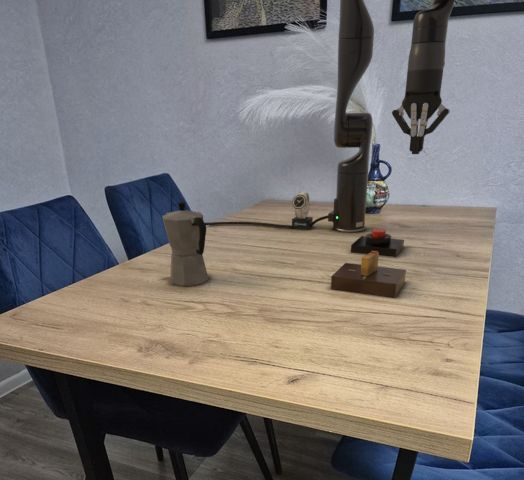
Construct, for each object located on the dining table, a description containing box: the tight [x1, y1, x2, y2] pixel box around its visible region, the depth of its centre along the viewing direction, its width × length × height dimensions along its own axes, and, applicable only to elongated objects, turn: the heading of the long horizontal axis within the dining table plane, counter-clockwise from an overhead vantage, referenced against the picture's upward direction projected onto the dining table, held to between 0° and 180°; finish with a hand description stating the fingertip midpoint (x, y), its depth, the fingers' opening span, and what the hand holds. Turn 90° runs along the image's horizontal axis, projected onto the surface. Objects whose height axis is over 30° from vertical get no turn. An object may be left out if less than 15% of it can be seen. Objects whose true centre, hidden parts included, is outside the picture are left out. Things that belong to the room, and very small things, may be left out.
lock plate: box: [330, 262, 407, 298], centre depth 104 cm, size 14×10×3 cm
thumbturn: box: [360, 251, 380, 276], centre depth 102 cm, size 5×2×4 cm, turn 142°
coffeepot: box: [161, 201, 209, 287], centre depth 107 cm, size 15×9×18 cm, turn 39°
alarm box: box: [350, 232, 405, 258], centre depth 128 cm, size 12×10×4 cm
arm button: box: [371, 228, 387, 238], centre depth 127 cm, size 4×4×2 cm
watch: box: [291, 191, 314, 231], centre depth 151 cm, size 6×8×11 cm
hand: (415, 153), depth 111 cm, fingers closed
